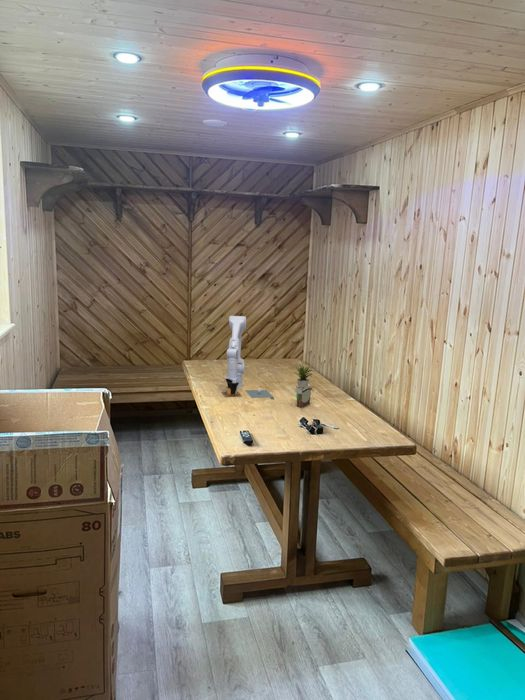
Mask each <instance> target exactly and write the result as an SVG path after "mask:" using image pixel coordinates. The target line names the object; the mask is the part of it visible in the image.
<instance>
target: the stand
mask: <svg viewBox="0 0 525 700" xmlns="http://www.w3.org/2000/svg"><path fill="white" fill-rule="evenodd" d="M221 394H222V395H223V397H224V398H243V396H242V394H241V393H240V392H239V391H237V395H234V396H230V395H227V391H223V392H222V391H221Z"/></svg>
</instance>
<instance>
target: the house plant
mask: <svg viewBox="0 0 525 700" xmlns="http://www.w3.org/2000/svg"><path fill="white" fill-rule="evenodd" d="M298 365H299V366H298V367H296V366H295V368H296V370H297V371H298V373H297V372H294V375H297V376H298V378H297V387H299V386H309V382H310V380H309V379H308V377H309V376H310V377H312V375H313V371H315V370H314V368H316V367H310V365H309V363H307V364H306V366H305V367H304V364H303V363H302V364H298ZM310 372H311V373H310ZM312 378H313V377H312Z"/></svg>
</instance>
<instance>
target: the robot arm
mask: <svg viewBox="0 0 525 700" xmlns="http://www.w3.org/2000/svg"><path fill="white" fill-rule="evenodd" d="M228 325H229V328H230V330H232V331H231V337H230V338H229V341H228V342H229V343H228V348H226V365H227V370H226V374H227V375H226V376H224V378H225V381H226V384H227V387H230V391H231V395H234V394H235V392H236V388H237V389H240V388H243V375H244V374H245V371H246V363H245V360H244V359H243V358H242V357H241V353H242V336H243V335H242V334H243V332H244V331H245V330H246V329H247V317H246V316H243V315H241V316H240V315H230V316H229V318H228Z"/></svg>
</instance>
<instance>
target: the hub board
mask: <svg viewBox="0 0 525 700" xmlns="http://www.w3.org/2000/svg"><path fill="white" fill-rule="evenodd" d="M244 391H245V392H246V393H247V395H248V396H249V397H250V398H251V399H267V398H269V399H270V400H272V399H273V400H274V399H275V396H273V395H272V394H271V393H270V392H269V391H268V390H267V389H262V388H261V387H257V389H247V390H246V389H245V390H244Z"/></svg>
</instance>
